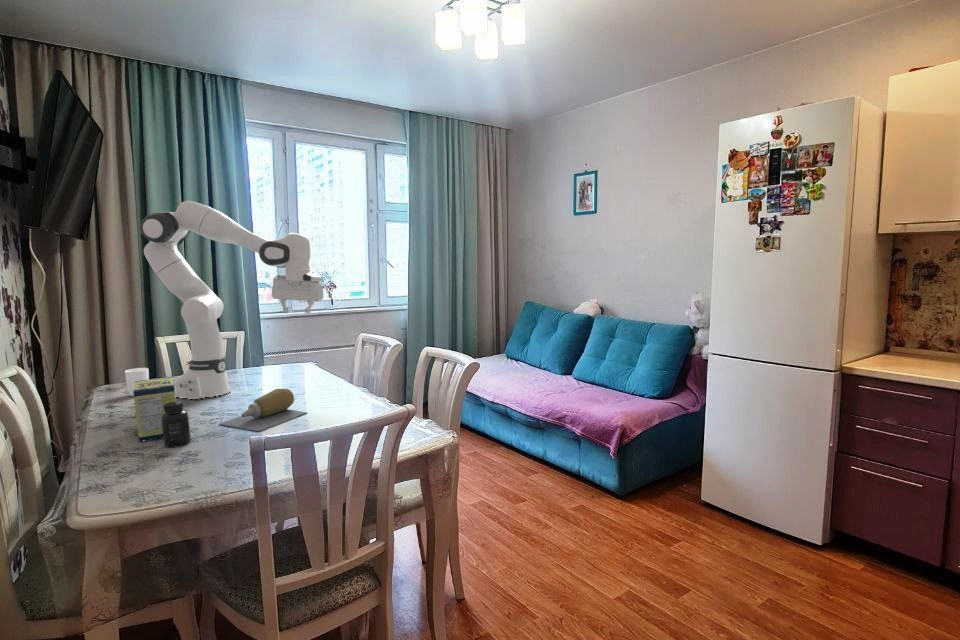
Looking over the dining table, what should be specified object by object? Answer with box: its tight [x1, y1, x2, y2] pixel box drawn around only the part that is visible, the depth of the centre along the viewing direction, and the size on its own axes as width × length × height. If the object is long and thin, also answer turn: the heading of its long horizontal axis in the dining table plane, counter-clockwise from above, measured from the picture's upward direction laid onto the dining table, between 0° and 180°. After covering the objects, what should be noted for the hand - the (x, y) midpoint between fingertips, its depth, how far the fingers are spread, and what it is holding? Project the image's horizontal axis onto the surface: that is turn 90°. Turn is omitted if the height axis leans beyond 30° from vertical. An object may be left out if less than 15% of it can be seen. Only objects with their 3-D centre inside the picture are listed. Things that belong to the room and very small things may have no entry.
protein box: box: [133, 376, 177, 442], centre depth 162 cm, size 10×16×16 cm
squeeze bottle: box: [241, 388, 295, 418], centre depth 175 cm, size 8×8×18 cm
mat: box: [218, 408, 308, 433], centre depth 173 cm, size 20×18×1 cm
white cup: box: [124, 367, 150, 395], centre depth 208 cm, size 8×8×10 cm
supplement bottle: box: [161, 400, 192, 448], centre depth 151 cm, size 7×7×12 cm
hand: (296, 312), depth 202 cm, fingers open, 8 cm apart
